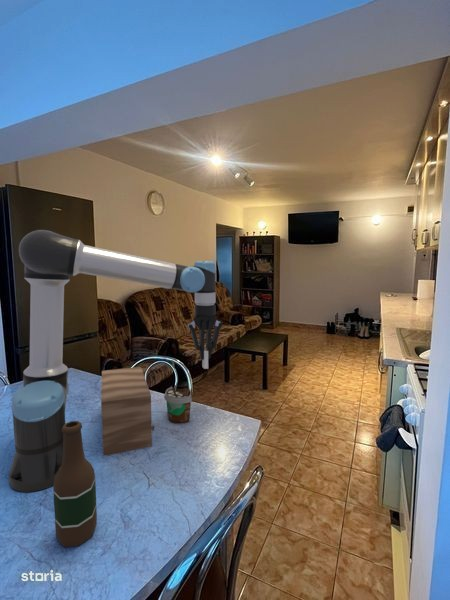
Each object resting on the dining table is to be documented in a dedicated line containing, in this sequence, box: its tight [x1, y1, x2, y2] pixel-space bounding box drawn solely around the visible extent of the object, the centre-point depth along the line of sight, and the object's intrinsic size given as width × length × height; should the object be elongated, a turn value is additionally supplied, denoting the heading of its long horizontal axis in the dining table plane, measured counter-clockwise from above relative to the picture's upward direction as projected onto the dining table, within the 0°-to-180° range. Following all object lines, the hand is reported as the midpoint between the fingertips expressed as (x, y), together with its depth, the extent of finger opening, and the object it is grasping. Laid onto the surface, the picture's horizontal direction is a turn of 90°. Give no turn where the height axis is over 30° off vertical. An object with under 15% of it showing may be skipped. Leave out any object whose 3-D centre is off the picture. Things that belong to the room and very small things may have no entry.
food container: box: [163, 386, 193, 425], centre depth 112 cm, size 12×6×10 cm, turn 45°
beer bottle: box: [52, 420, 98, 548], centre depth 64 cm, size 8×8×24 cm
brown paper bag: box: [100, 366, 153, 457], centre depth 106 cm, size 28×14×16 cm, turn 21°
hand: (205, 367), depth 115 cm, fingers closed
